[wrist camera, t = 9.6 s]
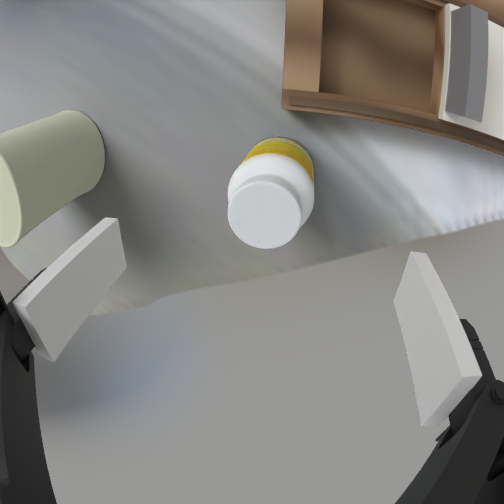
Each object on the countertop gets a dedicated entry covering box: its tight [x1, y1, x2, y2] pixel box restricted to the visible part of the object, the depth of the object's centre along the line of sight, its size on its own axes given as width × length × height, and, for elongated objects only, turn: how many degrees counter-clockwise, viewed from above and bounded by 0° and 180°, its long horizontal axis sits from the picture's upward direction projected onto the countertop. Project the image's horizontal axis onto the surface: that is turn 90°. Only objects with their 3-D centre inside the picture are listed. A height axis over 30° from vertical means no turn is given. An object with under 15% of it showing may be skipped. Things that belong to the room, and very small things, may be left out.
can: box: [0, 110, 105, 248], centre depth 21 cm, size 9×9×12 cm
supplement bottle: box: [228, 136, 314, 249], centre depth 20 cm, size 5×5×10 cm
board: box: [281, 0, 504, 155], centre depth 16 cm, size 14×22×2 cm, turn 88°
